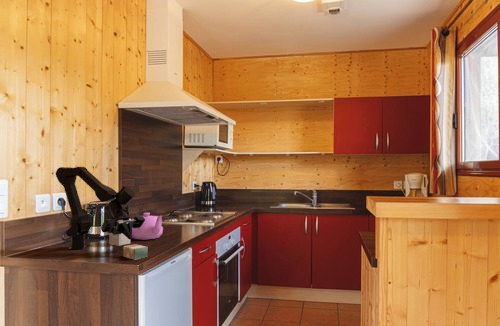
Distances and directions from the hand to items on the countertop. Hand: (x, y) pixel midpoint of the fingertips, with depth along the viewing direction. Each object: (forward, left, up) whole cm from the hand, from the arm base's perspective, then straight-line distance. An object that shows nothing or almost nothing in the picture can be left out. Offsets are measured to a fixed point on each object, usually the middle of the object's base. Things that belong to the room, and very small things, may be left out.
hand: (130, 238), depth 157 cm
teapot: (-39, +5, -7) cm, 40 cm away
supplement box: (-26, -8, -7) cm, 28 cm away
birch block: (-1, 0, -5) cm, 5 cm away
